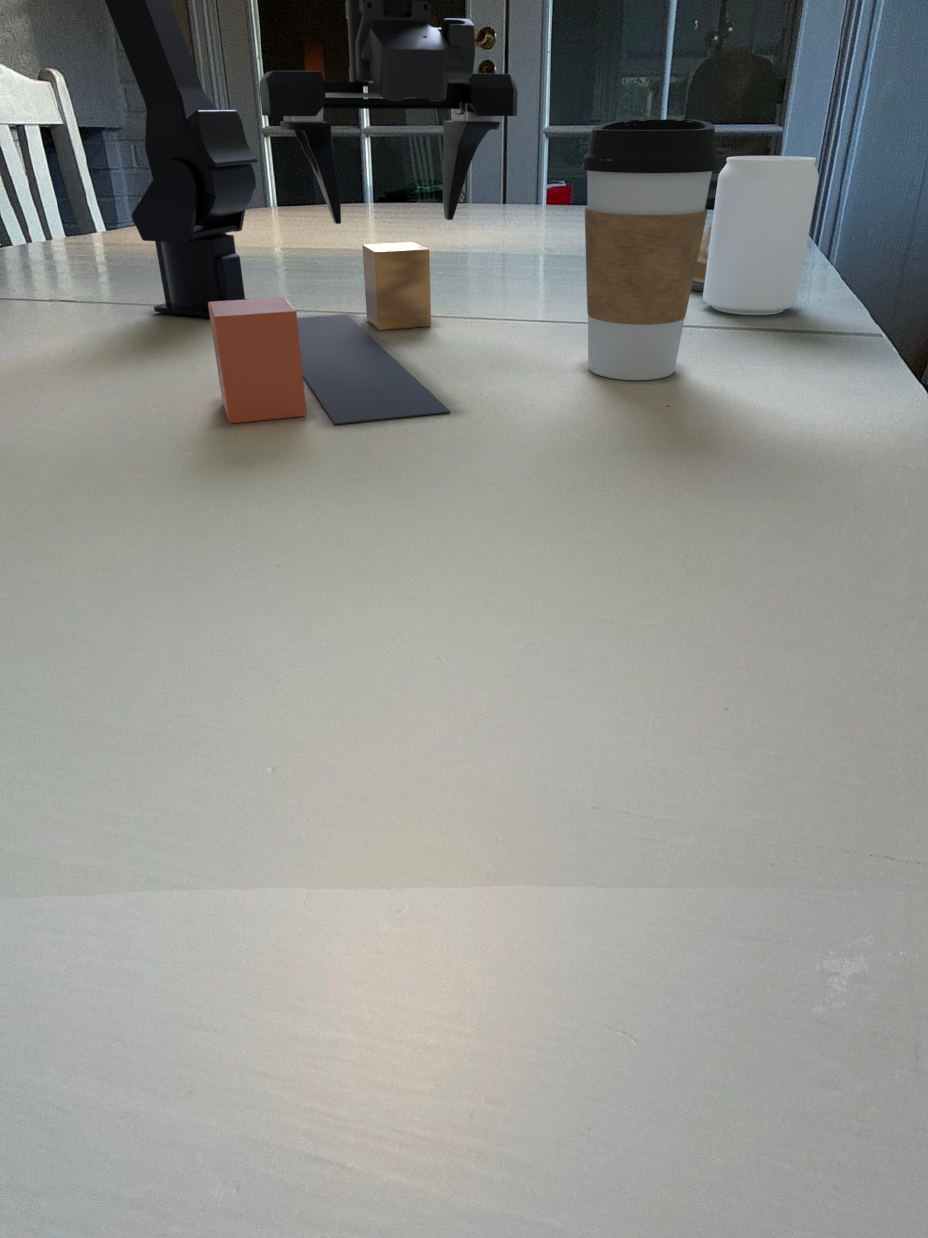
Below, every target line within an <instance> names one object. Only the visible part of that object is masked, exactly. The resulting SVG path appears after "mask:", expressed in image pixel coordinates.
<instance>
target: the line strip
mask: <svg viewBox="0 0 928 1238" xmlns="http://www.w3.org/2000/svg"><path fill="white" fill-rule="evenodd" d="M297 323H298V333H299V344H300V354H301V364H302V374H303V380H305V382H306V383H307V385H308V386H309V388H310V389H311V391H312V393H313V394H314V395H315V397H316V399H317V400H318V401H319V403H320V405H321V406H322V408H323V410H324V411H325V412H326V414H327V415H328V418H329V419H330V420H331V422H332V423H333V425H334V426H339V425H347V424H357V423H365V422H366V423H367V422H376V421H386V420H394V419H404V418H413V417H414V418H415V417H425V416H433V415H442V414H443V415H444V414H451V410H450V409H449V408H448V407H447V406H445V404H444V403H443V402H441V401H440V400H439V399H438V398H437V397H436V396H435V395H434V394H433V393H432V392H431V391H429V390H428V389H427V388H426V386H424V385H423V384H422V383H421V382H420V381H419V380H418V379H417V378H416V377H415V376H413V374H411V373H410V372H409V371H408V370H407V369H406V368H405V367H404V366H403V365H402V364H401V363H399V361H397V359H396V358H394V357H393V356H392V355H391V354H390V353H389V352H388V351H387V350H386V349H384V347H383V346H381V345H380V344H379V343H378V342H377V340H375V339H374V338H373V337H372V336H371V335H369V333H367V331H365V330H364V329H363V328H362V327H361V326H360V325H359V324H358V323H357V322H356V321H355V320H354V319H353V318H352V317H350V315H348V314H339V315H322V316H312V317H311V316H309V317H297Z"/></svg>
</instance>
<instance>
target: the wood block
mask: <svg viewBox="0 0 928 1238" xmlns="http://www.w3.org/2000/svg"><path fill="white" fill-rule="evenodd" d="M362 260H363V261H362V263H363V279H364V293H365V295H364V296H365V312H366V320H367V321H368V322H369V323H370V324H371V325H373V327H375V328H376V329H377V330H378V331H387V330H400V329H412V328H413V329H414V328H429V327H431V326H432V309H431V307H432V304H431V303H432V302H431V265H430V263H431V262H430V249H429V248H427V247H425V246H423V245H421V244H418V243H416V242H414V241H413V242H394V243H393V242H392V243H373V244H372V243H371V244H362Z"/></svg>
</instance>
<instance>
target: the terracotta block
mask: <svg viewBox="0 0 928 1238" xmlns="http://www.w3.org/2000/svg"><path fill="white" fill-rule="evenodd" d="M245 299H246V300H230V301H215V302H208V307H209V314H210V317H209V321H210V326H211V327H210V328H211V333H212V340H213V341H212V342H213V347H214V353H215V361H216V367H217V374H218V381H219V387H220V394H221V395H220V396H221V401H222V404H223V408H224V411H225V414H226V416H227V420H228V423H229V424H230V425H231V424H241V423H248V422H251V423H252V422H259V421H261V422H262V421H269V420H270V421H271V420H281V419H291V418H299V417H306V416H307V406H306V396H305V395H306V394H305V385H304V377H303V374H302V364H301V354H300V344H299V333H298V323H297V318H298V315H297V311H296V309H295V308H294V307H293V305H292V304H291V303H290V302H289V301H288V300H287V299H286V297H284V296H280V297H279V296H278V297H262V298H245Z"/></svg>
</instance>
